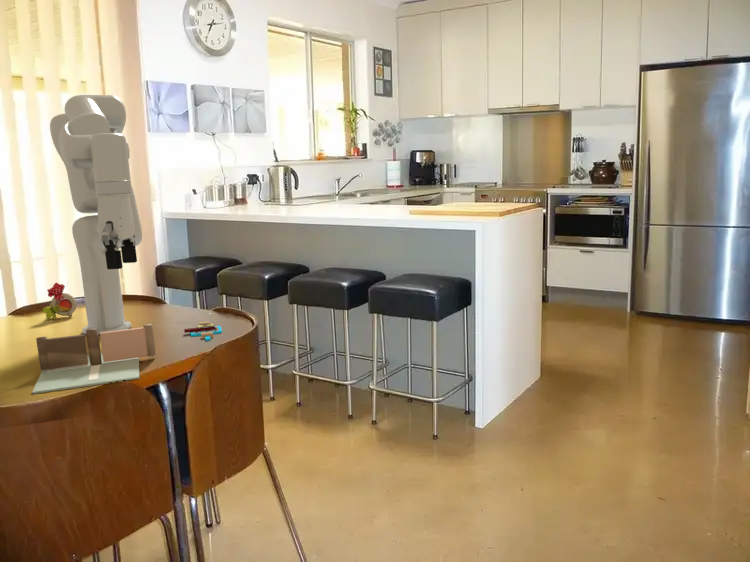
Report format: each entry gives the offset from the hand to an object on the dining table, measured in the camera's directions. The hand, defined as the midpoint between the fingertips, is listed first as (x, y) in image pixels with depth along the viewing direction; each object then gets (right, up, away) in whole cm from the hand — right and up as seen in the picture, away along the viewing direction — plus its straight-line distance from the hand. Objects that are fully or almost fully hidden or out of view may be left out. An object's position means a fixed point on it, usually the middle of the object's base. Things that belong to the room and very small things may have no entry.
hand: (122, 265), depth 151 cm
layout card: (-5, -23, -5) cm, 24 cm away
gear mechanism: (+12, -18, +25) cm, 33 cm away
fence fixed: (-10, -23, -4) cm, 25 cm away
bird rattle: (-39, -15, +54) cm, 68 cm away
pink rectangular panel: (+2, -21, 0) cm, 21 cm away
